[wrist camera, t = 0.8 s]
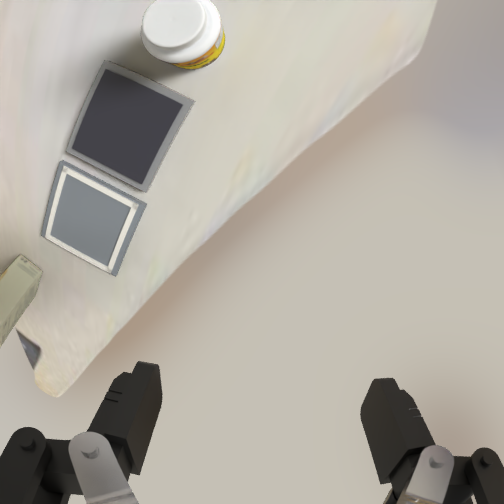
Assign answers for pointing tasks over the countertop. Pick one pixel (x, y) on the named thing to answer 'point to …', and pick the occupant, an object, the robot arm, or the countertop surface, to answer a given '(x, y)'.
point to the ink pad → (128, 125)
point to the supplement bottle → (183, 32)
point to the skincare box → (16, 292)
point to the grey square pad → (91, 218)
